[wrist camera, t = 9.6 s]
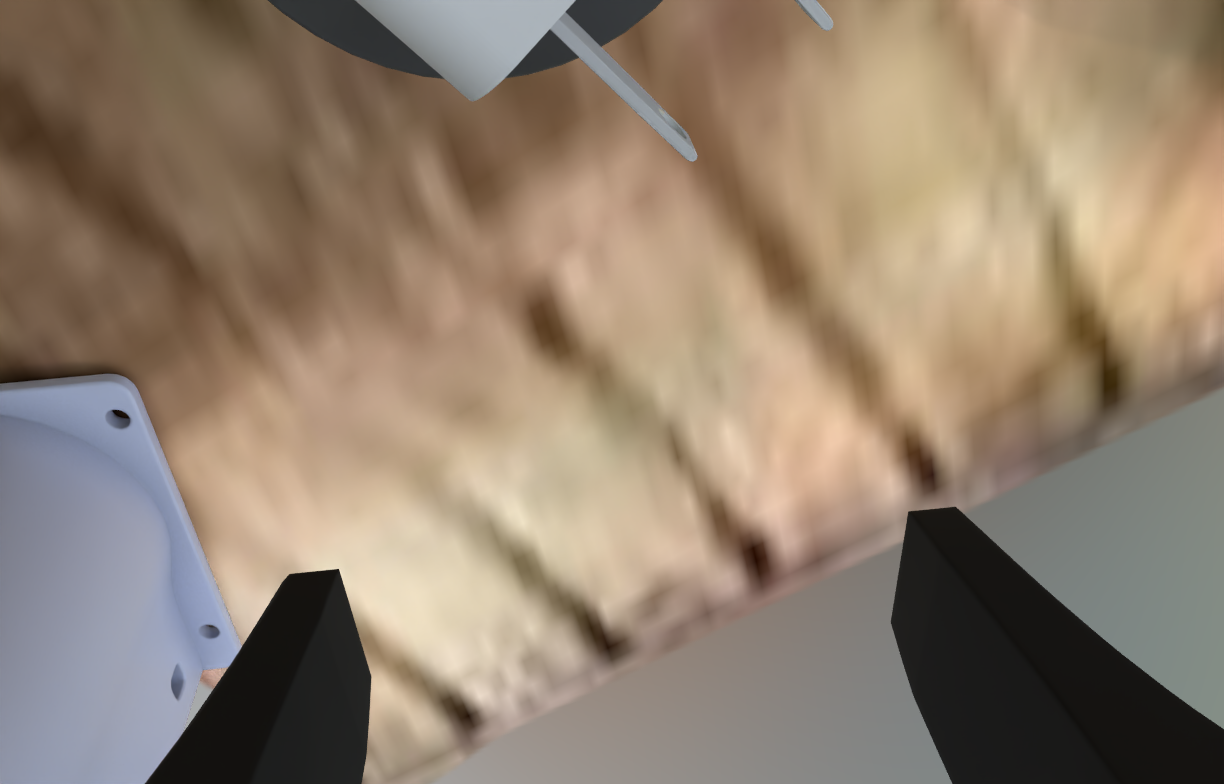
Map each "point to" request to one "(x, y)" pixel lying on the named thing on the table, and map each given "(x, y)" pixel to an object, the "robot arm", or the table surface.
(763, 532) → the table surface
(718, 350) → the table surface
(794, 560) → the table surface
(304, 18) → the coffee cup
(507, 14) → the usb wall charger
